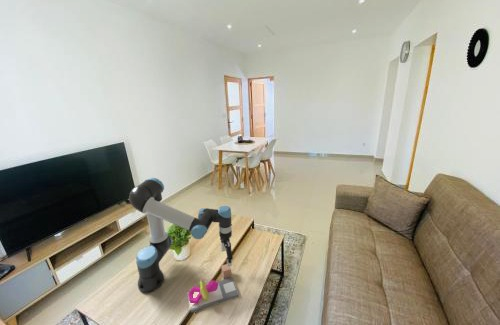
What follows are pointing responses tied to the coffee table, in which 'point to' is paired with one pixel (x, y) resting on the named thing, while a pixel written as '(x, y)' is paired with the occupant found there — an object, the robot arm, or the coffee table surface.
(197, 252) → the coffee table surface
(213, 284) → the toy
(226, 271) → the terracotta block
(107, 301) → the coffee table surface
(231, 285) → the foundation slab
